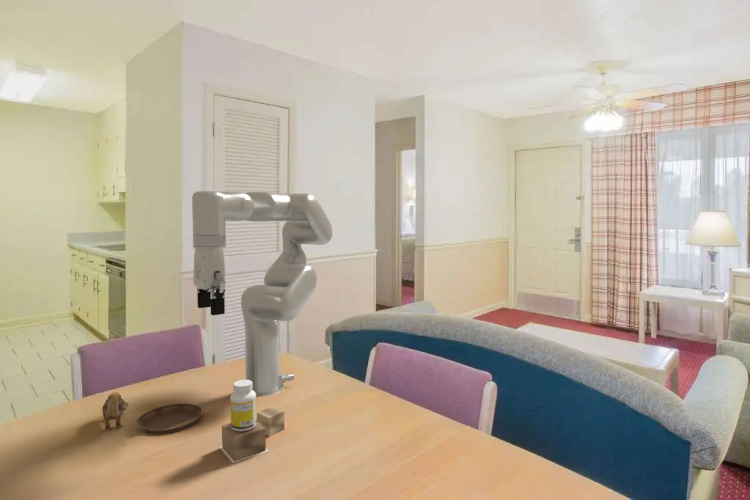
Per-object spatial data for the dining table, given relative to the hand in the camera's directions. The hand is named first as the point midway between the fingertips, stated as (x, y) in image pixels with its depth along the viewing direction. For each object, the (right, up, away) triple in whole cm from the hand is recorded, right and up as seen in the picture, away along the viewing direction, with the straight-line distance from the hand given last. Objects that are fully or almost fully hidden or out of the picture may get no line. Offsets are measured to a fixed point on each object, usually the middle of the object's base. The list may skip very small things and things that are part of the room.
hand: (210, 310), depth 113 cm
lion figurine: (-24, -28, 0) cm, 37 cm away
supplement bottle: (+12, -24, -14) cm, 30 cm away
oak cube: (+16, -28, -5) cm, 32 cm away
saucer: (-10, -29, 0) cm, 30 cm away
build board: (+14, -30, -12) cm, 35 cm away
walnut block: (+12, -28, -13) cm, 34 cm away
